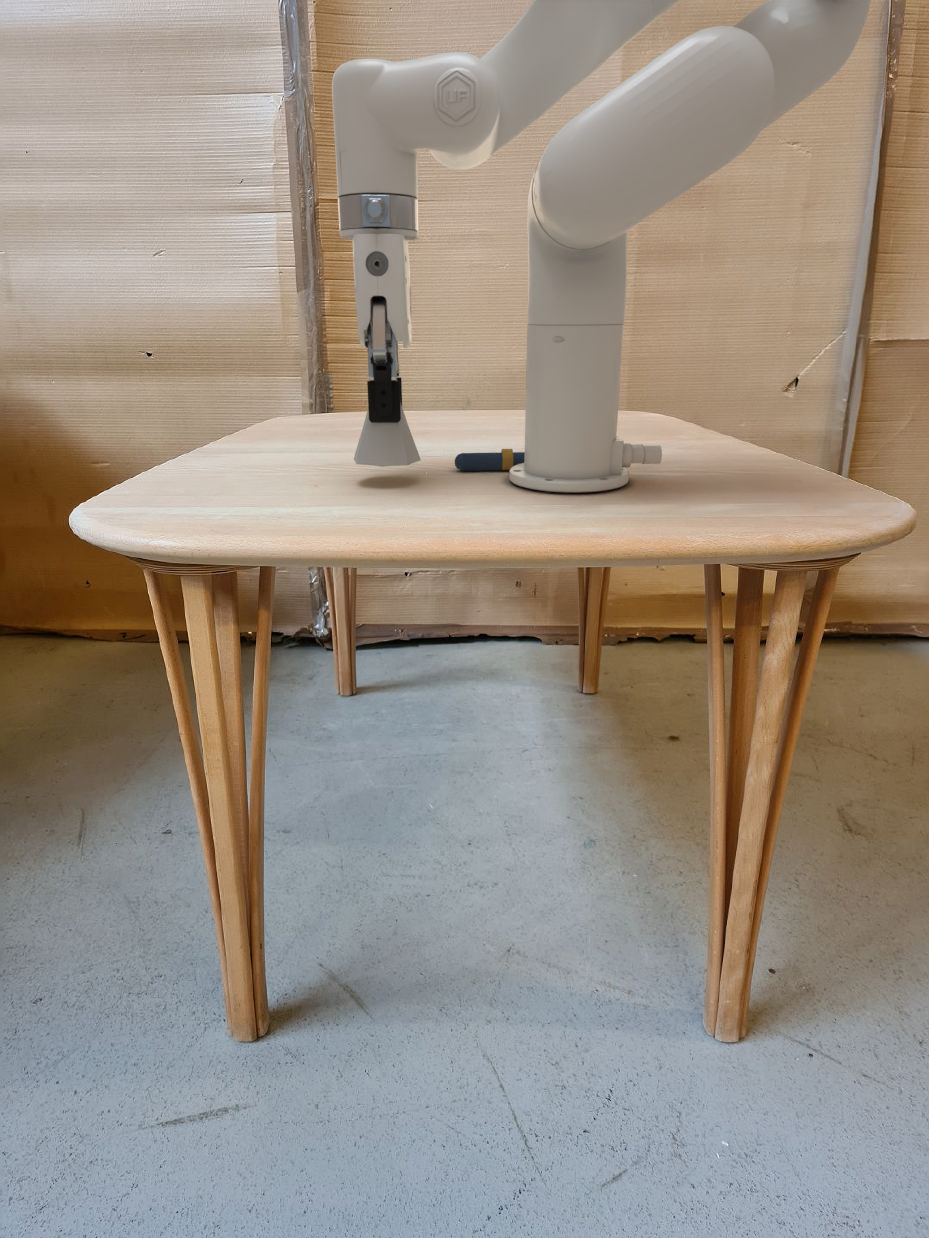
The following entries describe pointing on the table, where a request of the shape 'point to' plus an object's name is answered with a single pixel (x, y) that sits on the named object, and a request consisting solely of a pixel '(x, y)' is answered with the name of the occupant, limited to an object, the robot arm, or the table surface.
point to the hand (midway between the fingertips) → (386, 417)
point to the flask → (386, 443)
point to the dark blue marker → (489, 460)
